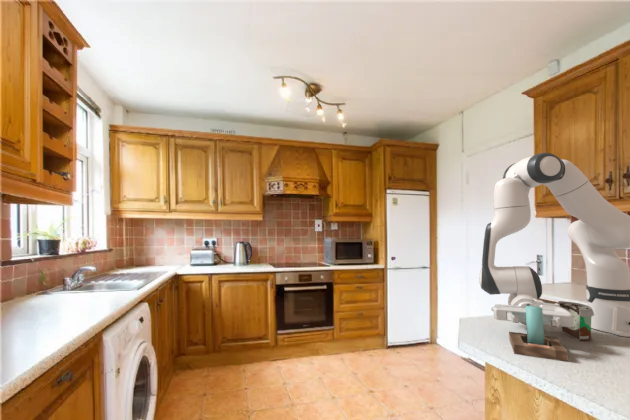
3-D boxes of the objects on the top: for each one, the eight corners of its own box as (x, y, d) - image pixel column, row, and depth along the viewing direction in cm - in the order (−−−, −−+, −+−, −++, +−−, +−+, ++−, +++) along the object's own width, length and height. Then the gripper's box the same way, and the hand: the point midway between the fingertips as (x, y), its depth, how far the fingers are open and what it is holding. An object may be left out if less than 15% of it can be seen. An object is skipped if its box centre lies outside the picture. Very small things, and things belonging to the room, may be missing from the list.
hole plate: (556, 345, 91) (556, 336, 91) (568, 361, 80) (567, 351, 80) (509, 339, 96) (508, 331, 96) (514, 353, 85) (513, 343, 86)
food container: (606, 344, 92) (604, 310, 92) (582, 343, 93) (580, 309, 93) (579, 331, 104) (577, 301, 104) (559, 330, 105) (557, 300, 105)
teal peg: (543, 348, 89) (540, 306, 90) (546, 353, 85) (543, 309, 86) (526, 346, 91) (524, 305, 92) (529, 351, 87) (526, 308, 88)
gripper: (490, 298, 105) (493, 307, 93) (564, 304, 96) (578, 315, 84) (491, 316, 105) (494, 328, 93) (566, 324, 96) (580, 338, 83)
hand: (535, 322), depth 88 cm, fingers open, 8 cm apart
